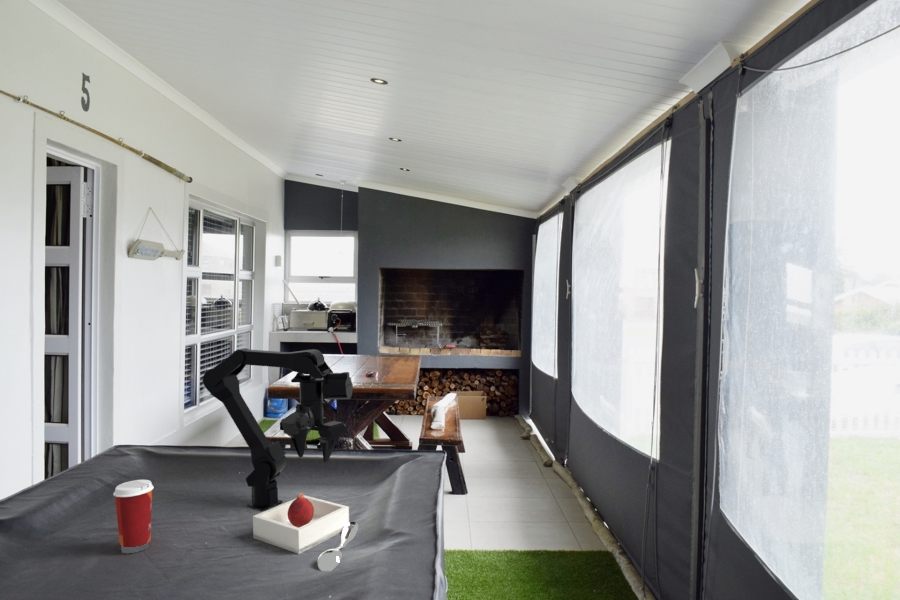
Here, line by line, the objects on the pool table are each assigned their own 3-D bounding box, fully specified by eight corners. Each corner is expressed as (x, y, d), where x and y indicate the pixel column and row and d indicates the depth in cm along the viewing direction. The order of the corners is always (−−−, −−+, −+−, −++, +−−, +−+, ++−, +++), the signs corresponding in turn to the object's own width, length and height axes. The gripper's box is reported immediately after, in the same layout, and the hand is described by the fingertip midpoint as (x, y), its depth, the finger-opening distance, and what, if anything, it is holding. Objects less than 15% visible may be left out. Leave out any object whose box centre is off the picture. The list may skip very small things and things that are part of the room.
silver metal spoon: (342, 513, 130) (362, 513, 129) (343, 527, 130) (363, 528, 130) (313, 559, 110) (337, 559, 109) (314, 576, 110) (337, 577, 110)
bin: (253, 538, 126) (252, 516, 126) (304, 515, 138) (304, 495, 138) (299, 554, 117) (298, 530, 117) (349, 528, 130) (348, 506, 130)
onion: (307, 535, 124) (306, 499, 124) (283, 533, 125) (282, 498, 125) (318, 524, 130) (317, 490, 130) (295, 523, 131) (294, 489, 131)
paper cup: (163, 542, 124) (161, 480, 124) (133, 558, 117) (131, 492, 117) (136, 538, 127) (134, 477, 127) (106, 553, 120) (103, 488, 120)
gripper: (261, 401, 142) (263, 462, 142) (313, 408, 132) (315, 474, 132) (296, 394, 151) (297, 451, 152) (346, 400, 141) (348, 461, 141)
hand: (313, 459), depth 144 cm, fingers open, 9 cm apart
